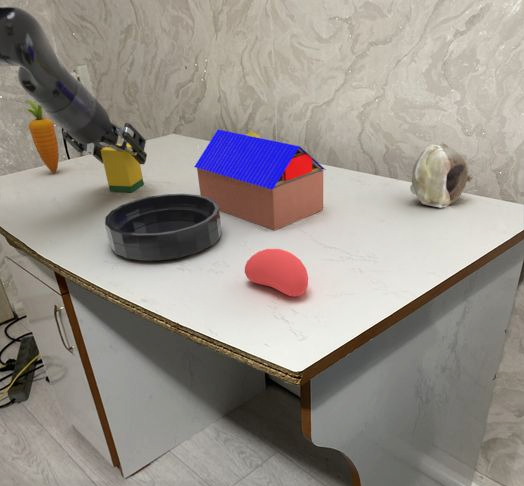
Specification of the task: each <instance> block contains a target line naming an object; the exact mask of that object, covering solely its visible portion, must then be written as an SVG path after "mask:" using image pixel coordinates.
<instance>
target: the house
mask: <svg viewBox="0 0 524 486" xmlns="http://www.w3.org/2000/svg"><path fill="white" fill-rule="evenodd" d="M194 168H196V171H197V178H198V186H199V194H200V196H203V197H207V198H210V199H212V200H213V201H215V202H217V205H218V207H219V212H223V213H226V214H228V215H231V216H234V217H236V218H240V219H242V220H245V221H248V222H251V223H253V224H256V225H259V226H262V227H264V228H268V229H271V230H273V231H277V230H279V229H281V228H284V227H286V226H288V225H291V224H293V223H295V222H297V221H300V220H303V219H305V218H307V217H310V216H312V215H315V214H317V213H319V212H322V211H324V171H326V170H327V169H326V168H324V166H323V165H322V164H320V163H319V162H318V161H317V160H316V159H315V158H313V157H312V156H311V155H310V154H309V153H308V152H307V151H306V150H304V149H303V148H302V147H301V145H300V146H299V145H295V144H290V143H285V142H280V141H276V140H272V139H266V138H262V137H261V138H257V137H252V136H247V135H245V134H241V133H238V132H237V133H236V132H232V131H228V130H222V129H217V130H216V132H215V133H214V135H213V136H212V138H211V139H210V141H209V143H208V144H207V145H206V147H205V149H204V151H203V152H202V154H201V155H200V157H199V158H198V160H197V162H196V163H195V164H194Z"/></svg>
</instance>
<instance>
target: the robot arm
mask: <svg viewBox="0 0 524 486" xmlns="http://www.w3.org/2000/svg"><path fill="white" fill-rule="evenodd" d="M18 66H19V67H18ZM0 67H18V72H17V78H18V82H19V84H20V87H21V88H22V89H23V90H24V92H25V93H26V94H27V95H28V96H29V97H30V98H32V100H33V101H35V102H36V104H37V103H38V104H39V105H40V106H41V107H42V110H44V111H45V113H47V115H48V116H49V117H50V119H52V120H53V121H54V122H55V123H56V124H57V125H58V126H59V127H60V128H61V129H62V130H63V132H62V138H63V139H64V140H65V141H66V142H67V143H68V144H69V145H70V146H71V147H72V148H73V149H74V150H75V151H76V152H77V153H80V154H84V152H86V154H87V155H90V156H93V157H94V158H95V159H96V160H97V161H99V162H100V163H101V164H102V165H104V163H103V159H102V154H101V150H102V149H104V148H106V147H109V148H112V149H115V150H117V151H119V152H123V151H125V152H127V153H129V154H131V155H132V156H133V157H134V158H135V159H136V160H137V161H138V162H139V163H140V165H145V164H146V162H147V157H148V154H147V152H146V151H145V147H146V144H147V140H146V138H145V137H144V136H142V134H141V133H140V132H139V131H138V130H137V129H136V128H135V127H134V126H133V125H132V124H131V123H129V122H125V123H124V125H123V127H118V125H116V124H115V123H112V122H111V120H110V116H109V114H108V112H107V110H106V108H104V107H103V105H102V104H101V103H100V102H99V101H98V100H97V99H96V98H95V97H94V95H93V94H92V92H90V90H88V88H86V86H84V84H83V83H82V82H81V81H79V79H77V78H76V77H75V76H74V75H73V74H72V73H71V72H70V71H69V70H68V69H67V68H66V66H65V65H64V64H63V63H61V61H60V60H59V58H58V56H57V54H56V52H55V49H54V47H53V45H52V44H51V42H50V40H49V38H48V36H47V34H46V32H45V30H44V28H43V26H42V25H41V23H40V22H39V21H38V19H37V18H36V17H35V16H34V15H32V13H30V12H28V11H27V10H25V9H23V8H22V7H18V6H14V5H11V6H10V5H9V6H0ZM38 104H37V105H38ZM119 137H120V139H121V140H120V143H121V144H120V146H119V145H117V143H118V140H119ZM126 144H130V145H131V148H129V147H127V146H126Z"/></svg>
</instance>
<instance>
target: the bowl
mask: <svg viewBox="0 0 524 486" xmlns="http://www.w3.org/2000/svg"><path fill="white" fill-rule="evenodd" d="M221 222H222V221H221V211H220V210H219V207H218V205H217V202H215V201H213V200H212V199H210V198H207V197H203V196H201V195H199V194H190V193H166V194H165V193H164V194H159V195H151V196H146V197H142V198H137V199H134V200H130V201H129V202H125V203H123V204H120V205H119V206H117V207H115V208H114V209H112V210H110V212H109V213H108V214H107V215H106V216H105V217H104V226H105V230H106V234H107V238H108V242H109V247H110V249H111V251H113V252H114V253H115V254H116V255H118V256H121V257H123V258H125V259H129V260H137V261H141V262H143V261H144V262H145V261H146V262H147V261H149V262H150V261H151V262H154V261H157V262H158V261H168V260H173V259H179V258H184V257H187V256H190V255H193V254H196V253H199V252H202V251H203V250H205V249H207V248H209V247H211V246H213V245H214V244H215V243H216V242H217V241H219V239H220V237H221V235H222V231H223V230H222V223H221Z"/></svg>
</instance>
